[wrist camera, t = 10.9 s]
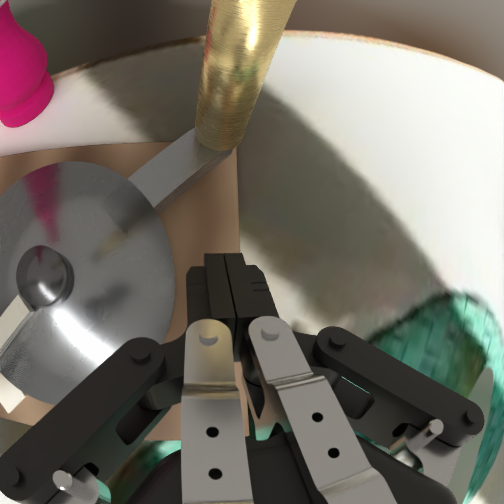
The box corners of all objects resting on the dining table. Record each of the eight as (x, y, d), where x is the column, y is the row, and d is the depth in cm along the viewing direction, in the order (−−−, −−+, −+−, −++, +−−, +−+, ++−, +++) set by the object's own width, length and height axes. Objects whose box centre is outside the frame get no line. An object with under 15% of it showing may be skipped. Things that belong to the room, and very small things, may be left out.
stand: (-21, 403, 13) (-33, 408, 11) (-11, 167, 17) (-21, 157, 15) (244, 428, 18) (250, 438, 16) (232, 154, 22) (237, 140, 20)
